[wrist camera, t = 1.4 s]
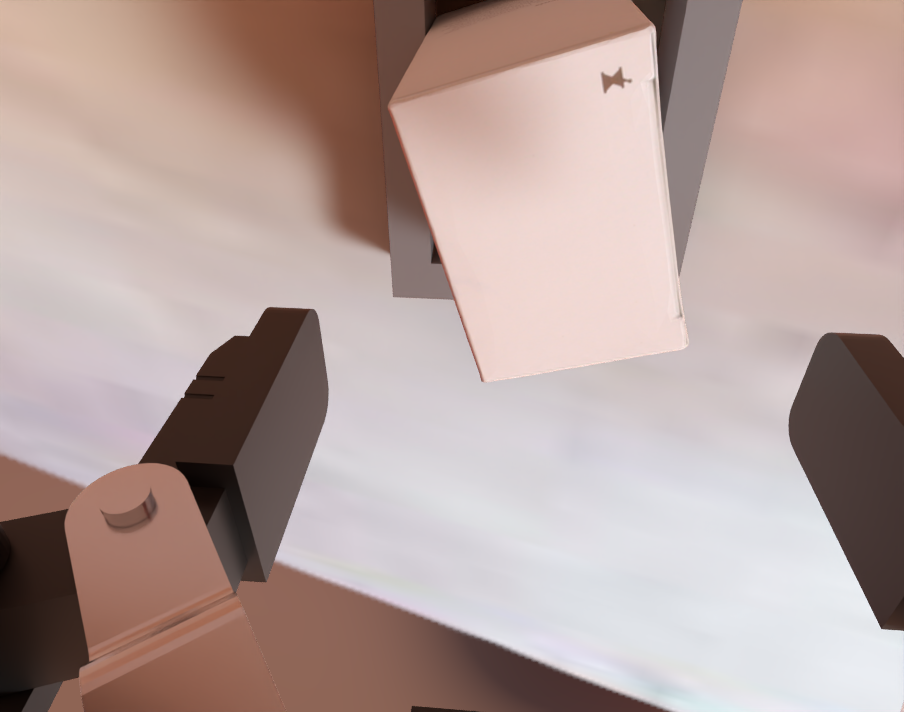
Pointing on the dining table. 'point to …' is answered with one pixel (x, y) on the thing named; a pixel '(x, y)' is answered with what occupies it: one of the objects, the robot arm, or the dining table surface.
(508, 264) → the small box
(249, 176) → the dining table surface
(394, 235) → the frame
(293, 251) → the dining table surface
